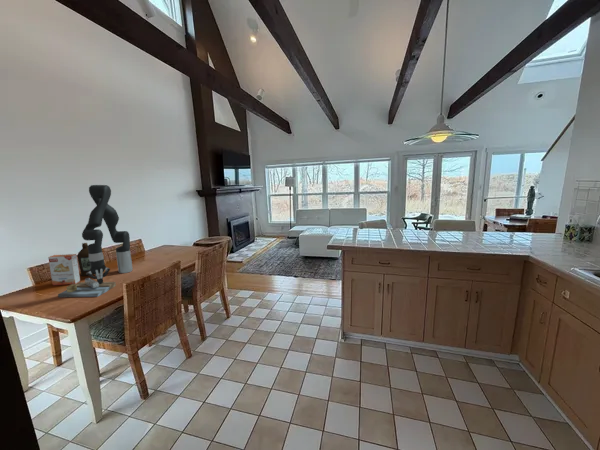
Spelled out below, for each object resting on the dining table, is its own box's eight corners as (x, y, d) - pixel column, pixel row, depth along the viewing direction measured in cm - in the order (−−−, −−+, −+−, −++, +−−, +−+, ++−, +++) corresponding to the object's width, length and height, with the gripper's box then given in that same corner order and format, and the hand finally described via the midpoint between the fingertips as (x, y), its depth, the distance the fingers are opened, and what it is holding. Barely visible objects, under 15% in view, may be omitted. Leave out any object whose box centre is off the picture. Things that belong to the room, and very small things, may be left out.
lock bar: (84, 283, 172) (84, 278, 171) (90, 282, 174) (89, 277, 174) (93, 288, 165) (92, 282, 164) (99, 286, 167) (98, 281, 167)
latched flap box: (80, 286, 176) (79, 278, 175) (115, 285, 177) (115, 278, 176) (58, 297, 159) (57, 289, 158) (97, 296, 160) (96, 288, 159)
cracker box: (52, 285, 177) (47, 256, 173) (58, 282, 183) (54, 254, 179) (75, 284, 179) (70, 255, 176) (80, 281, 185) (76, 253, 182)
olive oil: (79, 273, 200) (75, 243, 196) (96, 270, 207) (92, 241, 203) (80, 277, 192) (76, 245, 188) (98, 274, 200) (94, 243, 196)
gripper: (107, 255, 175) (110, 279, 178) (82, 260, 165) (86, 285, 168) (110, 257, 170) (113, 282, 173) (85, 262, 160) (89, 288, 163)
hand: (100, 283), depth 171 cm, fingers closed
